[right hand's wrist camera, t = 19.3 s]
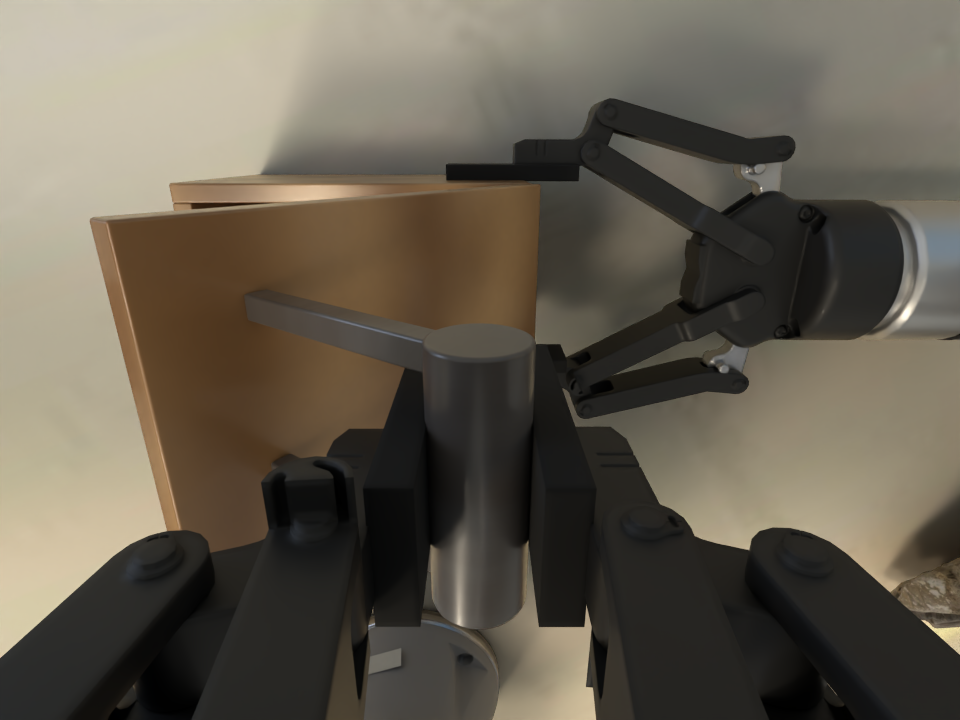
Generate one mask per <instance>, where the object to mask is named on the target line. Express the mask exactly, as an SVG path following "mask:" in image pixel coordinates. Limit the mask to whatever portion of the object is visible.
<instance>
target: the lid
mask: <svg viewBox="0 0 960 720" xmlns="http://www.w3.org/2000/svg"><path fill="white" fill-rule="evenodd" d="M540 187H541V186H540V185H539V184H513V185H500V186H488V187H475V188H462V189H449V190H436V191H423V192H411V193H398V194H385V195H372V196H359V197H347V198H334V199H321V200H308V201H295V202H283V203H270V204H257V205H244V206H231V207H218V208H206V209H193V210H180V211H167V212H154V213H142V214H129V215H116V216H103V217H93V218H91V219H90V224H91V228H92V232H93V236H94V240H95V244H96V248H97V252H98V256H99V260H100V264H101V268H102V272H103V276H104V280H105V284H106V288H107V292H108V296H109V300H110V304H111V308H112V312H113V316H114V320H115V324H116V328H117V332H118V336H119V340H120V344H121V348H122V352H123V356H124V360H125V364H126V368H127V372H128V376H129V380H130V384H131V388H132V392H133V396H134V400H135V404H136V408H137V412H138V416H139V420H140V424H141V428H142V432H143V436H144V440H145V444H146V448H147V452H148V456H149V460H150V464H151V468H152V472H153V476H154V480H155V484H156V488H157V492H158V496H159V500H160V504H161V508H162V512H163V516H164V520H165V524H166V528H167V531H175V530H189V531H192V532H196V533H200V534H201V535H202V536H203V537H204V538H205V539H206V540H207V541H208V544H209V548H210V553H212V552H216V551H221V550H226V549H230V548H235V547H240V546H244V545H248V544H251V543H255V542H258V541H260V540H263V539H265V537H266V535H267V532H268V530H269V528H268V522H267V516H266V510H265V504H264V498H263V492H262V487H261V481H262V480H263V479H264V478H265V477H266V475H267V474H268V473H269V472H271V471H272V470H274V469H276V468H277V467H279V466H280V465H282V464H285V463H288V462H291V461H293V460H296V459H300V458H307V457H314V456H321V457H326V454H327V453H328V451H329V449H330V447H331V445H332V443H333V441H334V440H335V439H336V438H338V437H339V436H340V435H342V434H343V433H344V432H346V431H347V430H348V429H384V426H385V423H386V420H387V417H388V414H389V412H390V409H391V406H392V403H393V400H394V397H395V394H396V392H397V389H398V386H399V383H400V380H401V377H402V374H403V372H404V369H405V368H407V369H410V370H413V371H416V372H420V373H423V392H424V417H425V424H426V437H427V462H428V488H429V513H430V538H431V546H430V554H429V562H428V570H427V571H428V572H430V573H431V589H432V599H433V602H434V605H435V606H436V608H437V610H438V611H439V612H440V614H441V615H442V616H443V617H444V618H445V619H447V620H448V621H450V622H451V623H453V624H455V625H458V626H460V627H464V628H468V629H489V628H494V627H497V626H500V625H503V624H505V623H506V622H508V621H510V620H511V619H512V618H514V617H515V616H516V615H517V614H518V612H519V611H520V610H521V608H522V606H523V604H524V602H525V599H526V589H527V564H528V533H529V507H530V481H531V456H532V430H533V411H534V386H535V361H536V342H535V318H536V292H537V265H538V239H539V213H540Z"/></svg>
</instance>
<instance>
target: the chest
mask: <svg viewBox="0 0 960 720" xmlns="http://www.w3.org/2000/svg"><path fill="white" fill-rule="evenodd" d="M513 184H530V183H528V182H527V181H525V180H446V175H250V176H240V177H229V178H219V179H209V180H199V181H188V182H178V183H171V184H170V185H169V186H170V191H171V196H172V201H173V202H174V204H173V207H174V211H180V210H193V209H206V208H218V207H231V206H244V205H257V204H270V203H283V202H295V201H308V200H321V199H334V198H347V197H359V196H372V195H385V194H398V193H411V192H423V191H436V190H449V189H462V188H475V187H488V186H500V185H513Z"/></svg>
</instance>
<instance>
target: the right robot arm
mask: <svg viewBox="0 0 960 720" xmlns="http://www.w3.org/2000/svg"><path fill="white" fill-rule="evenodd" d="M261 487H262V492H263V498H264V504H265V510H266V516H267V522H268V528H269V530H268V532H267V535H266V537H265V539H263V540H260V541H258V542H255V543H251V544H248V545H244V546H240V547H235V548H230V549H226V550H221V551H216V552H212V553H210V548H209V544H208V541H207V540H206V539H205V538H204V537H203V536H202V535H201V534H200V533H196V532H192V531H189V530H175V531H166V532H161V533H157V534H154V535H150V536H148V537H145V538H143V539H141V540H139V541H137V542H134V543H132V544H130V545H129V546H127V547H126V548H124V549H123V550H122V551H120V552H119V553H117V554H116V555H115V556H113V557H112V558H111V559H110V560H109V561H108V562H107V563H105V564H104V565H103V566H102V567H101V568H100V569H99V570H98V571H97V572H96V573H94V574H93V575H92V576H91V577H90V578H89V579H88V580H87V581H86V582H84V583H83V584H82V585H81V586H80V587H79V588H78V589H77V590H76V591H74V592H73V593H72V594H71V595H70V596H69V597H68V598H67V599H66V600H64V601H63V602H62V603H61V604H60V605H59V606H58V607H57V608H56V609H54V610H53V611H52V612H51V613H50V614H49V615H48V616H47V617H46V618H44V619H43V620H42V621H41V622H40V623H39V624H38V625H37V626H36V627H34V628H33V629H32V630H31V631H30V632H29V633H28V634H27V635H26V636H24V637H23V638H22V639H21V640H20V641H19V642H18V643H17V644H16V645H14V646H13V647H12V648H11V649H10V650H9V651H8V652H7V653H6V654H4V655H3V656H2V657H1V658H0V720H364V712H365V702H366V693H367V683H368V673H369V663H370V653H371V652H370V641H369V631H368V626H369V622H370V617H371V613H372V609H373V608H374V619H375V627H420V626H421V618H422V610H423V602H424V594H425V586H426V578H427V570H428V562H429V554H430V546H431V538H430V513H429V488H428V462H427V437H426V424H425V417H424V392H423V373H420V372H416V371H413V370H410V369H407V368H405V369H404V372H403V374H402V377H401V380H400V383H399V386H398V389H397V392H396V394H395V397H394V400H393V403H392V406H391V409H390V412H389V414H388V417H387V420H386V423H385V426H384V429H348V430H347V431H346V432H344V433H343V434H342V435H340V436H339V437H338V438H336V439H335V440H334V441H333V443H332V445H331V447H330V449H329V451H328V453H327V454H326V457H321V456H314V457H307V458H300V459H296V460H293V461H291V462H288V463H285V464H282V465H280V466H279V467H277V468H276V469H274V470H272V471H271V472H269V473H268V474H267V475H266V477H265V478H264V479H263V480H262V481H261ZM528 542H529V550H530V558H531V566H532V574H533V582H534V590H535V598H536V606H537V614H538V623H539V627H584V624H585V613H586V604H587V608H588V613H589V617H590V621H591V625H592V631H591V641H590V652H589V662H588V672H587V683H586V687H593V691H594V701H595V711H596V720H960V655H959V654H958V653H957V652H956V651H955V650H954V649H953V648H951V647H950V646H949V645H948V644H947V643H946V642H945V641H944V640H943V639H941V638H940V637H939V636H938V635H937V634H936V633H935V632H934V631H932V630H931V629H930V628H929V627H928V626H927V625H926V624H925V623H924V622H922V621H921V620H920V619H919V618H918V617H917V616H916V615H915V614H913V613H912V612H911V611H910V610H909V609H908V608H907V607H906V606H904V605H903V604H902V603H901V602H900V601H899V600H898V599H897V598H896V597H894V596H893V595H892V594H891V593H890V592H889V591H888V590H887V589H885V588H884V587H883V586H882V585H881V584H880V583H879V582H878V581H877V580H875V579H874V578H873V577H872V576H871V575H870V574H869V573H868V572H866V571H865V570H864V569H863V568H862V567H861V566H860V565H859V564H858V563H856V562H855V561H854V560H853V559H852V558H851V557H850V556H849V555H847V554H846V553H845V552H843V551H842V550H841V549H839V548H838V547H836V546H835V545H834V544H832V543H831V542H829V541H827V540H825V539H822V538H820V537H818V536H816V535H813V534H811V533H808V532H805V531H800V530H796V529H792V528H770V529H766V530H762V531H759V532H758V533H757V534H756V535H755V536H754V537H753V538H752V541H751V545H750V550H745V549H740V548H736V547H731V546H726V545H721V544H717V543H713V542H710V541H706V540H703V539H700V538H698V537H695V536H694V534H693V531H692V529H691V527H690V526H689V525H688V523H687V522H686V520H685V519H684V518H683V517H682V516H680V515H679V514H678V513H676V512H675V511H673V510H672V509H670V508H668V507H665V506H663V505H660V504H659V502H658V500H657V498H656V496H655V494H654V492H653V490H652V488H651V486H650V484H649V482H648V481H647V479H646V477H645V475H644V473H643V471H642V469H641V467H639V463H638V461H637V459H636V457H635V455H633V451H632V449H631V447H630V445H629V443H628V441H627V440H626V438H624V437H623V436H622V435H620V434H619V433H618V432H616V431H615V430H614V429H612V428H611V427H575V425H574V422H573V419H572V416H571V413H570V410H569V407H568V404H567V402H566V399H565V396H564V393H563V390H562V387H561V384H560V381H559V379H558V376H557V373H556V370H555V367H554V364H553V361H552V358H551V356H550V353H549V350H548V347H547V344H536V361H535V386H534V411H533V430H532V456H531V481H530V507H529V533H528ZM827 683H828V684H829V685H828V684H827ZM830 687H831V688H832V689H833V690H832V689H831V688H830ZM834 692H835V693H836V694H837V695H836V694H835V693H834Z"/></svg>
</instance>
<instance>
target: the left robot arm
mask: <svg viewBox="0 0 960 720" xmlns="http://www.w3.org/2000/svg"><path fill="white" fill-rule="evenodd" d="M613 133H615V134H619V135H622V136H626V137H629V138H633V139H636V140H639V141H643V142H646V143H650V144H653V145H656V146H660V147H663V148H667V149H670V150H673V151H677V152H680V153H684V154H687V155H691V156H694V157H697V158H701V159H704V160H708V161H711V162H716V163H724V164H734V166H733V171H734V175H735V176H736V177H737V178H738V179H742V180H746V181H748V182H749V183H750V184H751V186H752V192H751V193H749V194H748V195H746V196H745V197H743V198H742V199H740V200H739V201H737V202H736V203H734V204H733V205H731V206H730V207H728V208H727V209H725V210H724V211H722V212H721V213H719V212H718V211H716V210H714V209H712V208H710V207H708V206H706V205H704V204H702V203H700V202H699V201H697V200H696V199H694V198H692V197H691V196H689V195H687V194H686V193H684V192H682V191H681V190H679V189H678V188H676V187H674V186H673V185H671V184H669V183H668V182H666V181H665V180H663V179H661V178H660V177H658V176H656V175H655V174H653V173H651V172H650V171H648V170H647V169H645V168H643V167H642V166H640V165H638V164H637V163H635V162H633V161H632V160H630V159H629V158H627V157H625V156H624V155H622V154H620V153H619V152H617V151H616V150H614V149H612V148H611V147H609V146H608V144H609V141H610V139H611V136H612V134H613ZM794 151H795V142H794V140H793V139H792V138H791V137H789V136H768V137H754V138H744V137H741V136H737V135H734V134H731V133H727V132H724V131H721V130H717V129H714V128H711V127H707V126H704V125H701V124H697V123H694V122H691V121H687V120H684V119H681V118H677V117H674V116H671V115H667V114H664V113H661V112H657V111H654V110H651V109H647V108H644V107H641V106H637V105H634V104H631V103H627V102H624V101H621V100H617V99H611V98H610V99H607V100H604V101H601V102H599V103H597V104H595V105H594V106H593V107H591V109H590V111H589V115H588V119H587V122H586V124H585V127H584V129H583V131H582V133H581V134H580V135H579V136H578V137H577V138H575V139H573V140H543V139H538V140H537V139H525V140H522V141H520V142H517V143H515V144H513V164H446V180H525V181H579V166H583V167H585V168H587V169H588V170H590V171H592V172H594V173H595V174H597V175H599V176H600V177H602V178H604V179H605V180H607V181H609V182H610V183H612V184H614V185H615V186H617V187H619V188H620V189H622V190H624V191H625V192H627V193H629V194H630V195H632V196H634V197H635V198H637V199H639V200H640V201H642V202H644V203H645V204H647V205H649V206H650V207H652V208H654V209H655V210H657V211H659V212H660V213H662V214H664V215H665V216H667V217H669V218H670V219H672V220H673V221H675V222H676V223H678V224H679V225H681V226H682V227H684V228H686V229H687V230H689V231H691V232H692V233H694V234H693V236H692V237H691V240H687V242H686V249H685V258H686V266H687V268H686V271H685V273H684V275H683V278H682V280H681V286H680V293H679V294H680V295H681V296H682V297H681V298H679V299H677V300H675V301H673V302H671V303H669V304H667V305H666V306H664V307H663V309H662V310H661V311H660V312H658V313H656V314H654V315H652V316H650V317H648V318H646V319H644V320H642V321H640V322H638V323H636V324H634V325H631V326H629V327H627V328H625V329H623V330H621V331H619V332H617V333H615V334H613V335H611V336H609V337H607V338H605V339H603V340H601V341H599V342H597V343H595V344H593V345H591V346H589V347H587V348H585V349H582V350H580V351H578V352H576V353H574V354H572V355H570V356H568V357H565V354H564V352H563V350H562V347H561V345H560V344H547V347H548V350H549V353H550V356H551V358H552V361H553V364H554V367H555V370H556V373H557V376H558V379H559V381H560V384H561V387H562V388H564V389H566V390H567V391H568V392H569V394H570V397H571V400H572V402H573V405H574V408H575V410H576V413H577V415H578V416H579V417H580V418H584V419H588V418H593V417H597V416H602V415H606V414H610V413H615V412H619V411H623V410H628V409H632V408H636V407H641V406H645V405H650V404H654V403H658V402H663V401H667V400H671V399H676V398H680V397H684V396H689V395H693V394H698V393H702V392H706V391H708V392H719V393H731V394H740V393H742V392H744V391H745V390H746V389H747V387H748V385H749V381H748V378H747V377H746V376H745V375H743V374H742V371H743V368H744V364H745V361H746V357H747V354H748V351H749V347H753V346H756V345H758V344H760V343H762V342H765V341H768V340H772V339H782V340H851V339H856V338H858V339H863V340H929V339H937V340H960V201H949V200H881V201H876V202H872V201H868V200H794V199H791V198H789V197H788V196H786V195H785V194H783V193H781V192H780V184H781V174H782V164H783V162H784V161H787V160H788V159H789V158H791V156H792V155H793V154H794ZM713 331H716V332H717V333H719V334H720V335H721V336H723V337H724V338H725V339H726V341H725V344H724V345H723V346H722V347H721V348H719V349H715V350H710V351H706V352H704V354H703V358H699V357H695V358H686V359H680V360H676V361H672V362H668V363H663V364H659V365H655V366H651V367H646V368H642V369H638V370H634V371H629V372H625V373H621V374H617V375H613V374H616V373H618V372H620V371H622V370H624V369H626V368H628V367H630V366H632V365H635V364H637V363H639V362H641V361H643V360H645V359H647V358H649V357H651V356H653V355H656V354H658V353H660V352H662V351H664V350H666V349H668V348H670V347H672V346H674V345H677V344H679V343H681V342H684V341H694V340H697V339H699V338H701V337H703V336H705V335H707V334H709V333H711V332H713ZM611 375H612V376H611ZM368 631H369V641H370V652H371V653H370V663H369V673H368V683H367V693H366V702H365V712H364V720H492V719H493V716H494V713H495V709H496V706H497V701H498V694H499V671H498V663H497V659H496V656H495V654H494V652H493V650H492V648H491V646H490V645H489V643H488V642H487V641H486V640H485V638H484V637H483V636H482V635H481V634H480V633H479V632H477V631H476V630H475V629H468V628H464V627H460V626H458V625H455V624H453V623H451V622H450V621H448V620H447V619H445V618H444V617H443V616H442V615H441V614H440V613H439V612H435V611H430V610H422V618H421V626H420V627H375V619H374V616H371V617H370V622H369V626H368Z"/></svg>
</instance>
